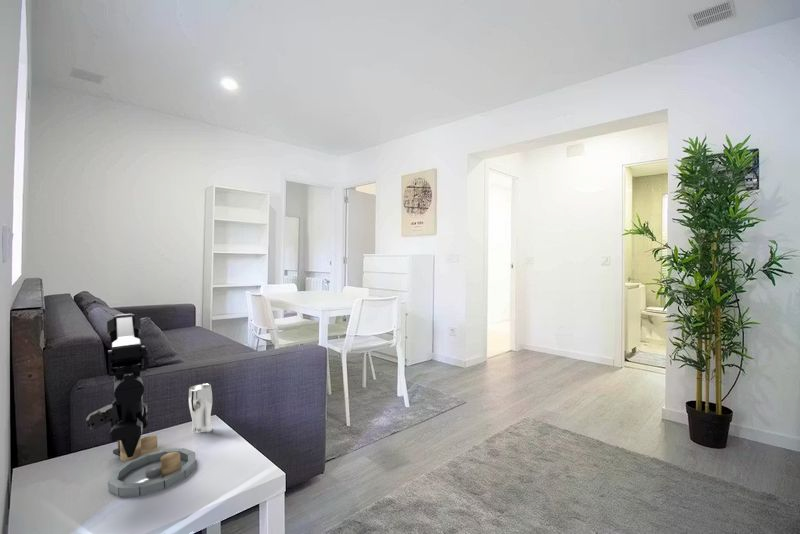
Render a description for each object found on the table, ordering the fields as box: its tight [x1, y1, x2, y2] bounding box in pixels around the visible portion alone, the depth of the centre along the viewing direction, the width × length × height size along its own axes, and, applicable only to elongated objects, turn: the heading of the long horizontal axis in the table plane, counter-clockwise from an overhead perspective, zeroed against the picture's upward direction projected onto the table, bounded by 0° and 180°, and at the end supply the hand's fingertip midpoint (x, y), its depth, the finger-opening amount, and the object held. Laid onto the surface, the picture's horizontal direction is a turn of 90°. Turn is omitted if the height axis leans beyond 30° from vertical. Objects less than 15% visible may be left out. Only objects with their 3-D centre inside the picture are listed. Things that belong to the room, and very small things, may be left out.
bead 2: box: [141, 435, 159, 455], centre depth 112 cm, size 4×4×5 cm
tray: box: [107, 447, 197, 497], centre depth 101 cm, size 19×19×3 cm
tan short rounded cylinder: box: [161, 452, 181, 478], centre depth 100 cm, size 4×4×5 cm
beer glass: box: [188, 383, 213, 434], centre depth 127 cm, size 7×7×15 cm
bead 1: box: [119, 435, 142, 462], centre depth 98 cm, size 4×4×5 cm
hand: (131, 452), depth 98 cm, fingers closed on bead 1, 4 cm apart
